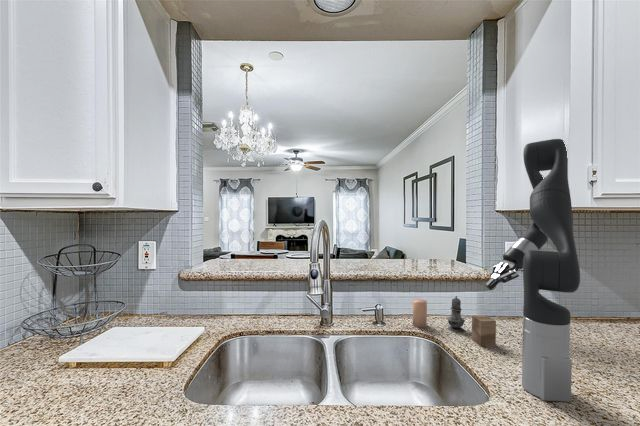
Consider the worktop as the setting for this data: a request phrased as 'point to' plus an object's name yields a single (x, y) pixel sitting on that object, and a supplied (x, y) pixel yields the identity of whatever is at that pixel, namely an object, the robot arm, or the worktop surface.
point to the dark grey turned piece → (456, 316)
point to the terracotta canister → (419, 313)
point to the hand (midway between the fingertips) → (488, 287)
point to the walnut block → (484, 330)
